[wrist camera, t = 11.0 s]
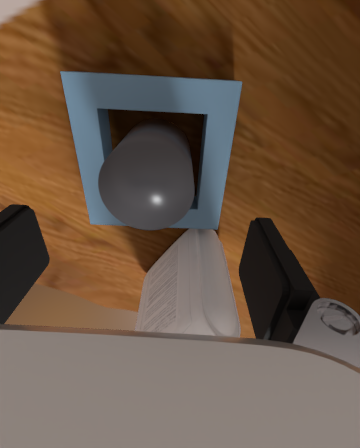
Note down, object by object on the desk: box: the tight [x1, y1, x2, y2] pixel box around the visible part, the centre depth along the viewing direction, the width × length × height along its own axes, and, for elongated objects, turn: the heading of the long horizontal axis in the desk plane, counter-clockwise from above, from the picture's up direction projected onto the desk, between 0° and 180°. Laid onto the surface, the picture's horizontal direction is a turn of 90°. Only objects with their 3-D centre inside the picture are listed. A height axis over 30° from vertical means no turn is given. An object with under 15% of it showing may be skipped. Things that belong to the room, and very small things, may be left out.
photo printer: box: [135, 228, 241, 337], centre depth 20 cm, size 10×4×12 cm, turn 143°
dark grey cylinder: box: [98, 118, 195, 230], centre depth 16 cm, size 6×6×7 cm
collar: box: [60, 71, 242, 230], centre depth 18 cm, size 11×11×2 cm
